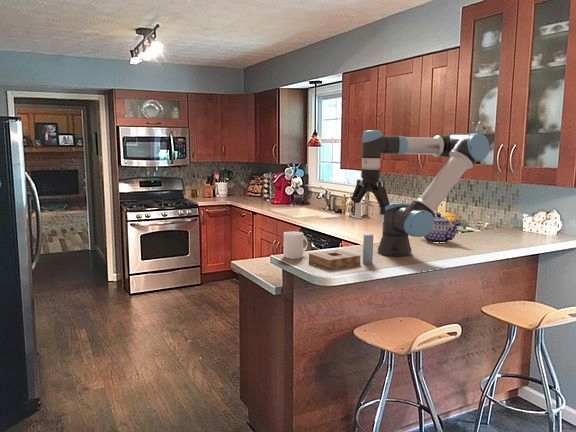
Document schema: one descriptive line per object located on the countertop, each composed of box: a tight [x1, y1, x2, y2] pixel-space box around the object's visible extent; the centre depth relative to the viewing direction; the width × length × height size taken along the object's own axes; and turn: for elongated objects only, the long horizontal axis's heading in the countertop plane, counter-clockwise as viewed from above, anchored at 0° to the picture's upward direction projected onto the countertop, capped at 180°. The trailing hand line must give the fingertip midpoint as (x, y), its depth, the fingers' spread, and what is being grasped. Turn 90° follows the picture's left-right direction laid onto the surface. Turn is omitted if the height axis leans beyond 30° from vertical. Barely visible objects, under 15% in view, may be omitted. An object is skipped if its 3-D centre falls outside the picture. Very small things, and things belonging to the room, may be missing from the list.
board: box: [308, 248, 361, 271], centre depth 203 cm, size 16×14×4 cm
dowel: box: [362, 233, 374, 265], centre depth 205 cm, size 4×4×12 cm
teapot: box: [423, 212, 461, 243], centre depth 252 cm, size 25×15×15 cm, turn 37°
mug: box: [283, 231, 309, 260], centre depth 215 cm, size 9×12×11 cm
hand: (368, 220), depth 203 cm, fingers open, 13 cm apart
